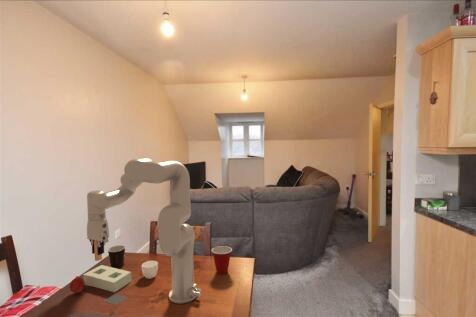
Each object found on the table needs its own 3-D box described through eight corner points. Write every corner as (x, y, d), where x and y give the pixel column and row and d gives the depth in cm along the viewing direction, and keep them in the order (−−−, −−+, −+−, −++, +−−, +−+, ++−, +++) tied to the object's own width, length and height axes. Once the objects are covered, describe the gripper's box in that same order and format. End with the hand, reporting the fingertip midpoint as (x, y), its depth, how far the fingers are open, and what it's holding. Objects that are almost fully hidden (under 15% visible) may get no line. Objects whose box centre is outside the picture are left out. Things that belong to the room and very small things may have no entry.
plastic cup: (234, 266, 138) (233, 245, 137) (230, 277, 127) (230, 254, 127) (214, 265, 140) (214, 244, 139) (209, 275, 129) (208, 252, 128)
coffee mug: (113, 262, 145) (113, 245, 144) (128, 262, 145) (128, 245, 144) (102, 273, 134) (101, 254, 133) (118, 273, 133) (117, 254, 133)
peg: (103, 258, 126) (102, 238, 125) (97, 261, 123) (97, 240, 122) (98, 257, 127) (98, 237, 126) (93, 260, 124) (92, 240, 123)
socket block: (131, 281, 125) (131, 271, 124) (114, 293, 115) (114, 282, 115) (102, 274, 132) (101, 264, 132) (83, 284, 123) (83, 274, 123)
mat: (128, 298, 112) (128, 297, 112) (117, 306, 106) (116, 305, 106) (114, 294, 115) (114, 293, 115) (103, 301, 109) (103, 301, 109)
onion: (68, 298, 112) (67, 280, 112) (72, 290, 118) (71, 274, 117) (83, 295, 114) (82, 278, 113) (86, 288, 119) (85, 272, 119)
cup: (139, 281, 125) (139, 267, 125) (147, 270, 135) (146, 258, 135) (155, 281, 125) (154, 267, 125) (161, 270, 135) (161, 258, 135)
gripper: (115, 216, 124) (117, 253, 125) (91, 212, 130) (93, 247, 131) (102, 220, 117) (103, 259, 118) (77, 216, 123) (79, 253, 124)
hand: (98, 252), depth 125 cm, fingers closed on peg, 3 cm apart
